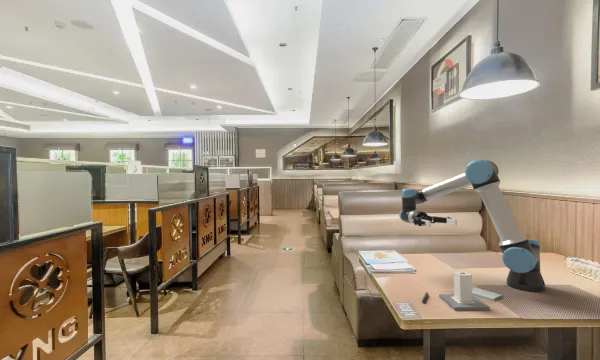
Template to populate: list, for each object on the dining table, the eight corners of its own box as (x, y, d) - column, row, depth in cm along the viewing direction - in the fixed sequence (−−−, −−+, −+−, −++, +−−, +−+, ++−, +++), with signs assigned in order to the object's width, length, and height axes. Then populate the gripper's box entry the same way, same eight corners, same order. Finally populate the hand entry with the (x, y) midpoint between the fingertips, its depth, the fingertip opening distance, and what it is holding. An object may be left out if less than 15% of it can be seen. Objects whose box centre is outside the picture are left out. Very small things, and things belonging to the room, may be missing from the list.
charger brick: (465, 296, 130) (464, 271, 130) (472, 301, 125) (471, 274, 125) (454, 297, 130) (453, 271, 130) (460, 301, 125) (459, 274, 125)
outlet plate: (470, 296, 134) (470, 293, 134) (489, 309, 120) (489, 305, 120) (439, 296, 135) (439, 293, 135) (454, 310, 121) (454, 306, 121)
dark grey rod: (425, 294, 137) (425, 292, 137) (428, 295, 137) (428, 292, 137) (421, 303, 128) (421, 300, 128) (424, 303, 128) (424, 300, 128)
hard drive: (502, 294, 133) (473, 286, 144) (493, 298, 129) (464, 290, 139) (502, 298, 133) (473, 290, 144) (493, 302, 129) (464, 293, 139)
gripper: (439, 224, 164) (467, 230, 143) (397, 226, 160) (418, 232, 139) (439, 210, 164) (466, 214, 143) (396, 211, 160) (418, 216, 139)
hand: (443, 223), depth 141 cm, fingers open, 13 cm apart
